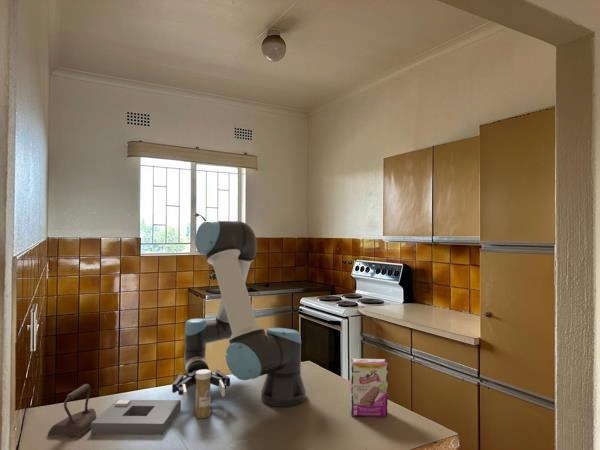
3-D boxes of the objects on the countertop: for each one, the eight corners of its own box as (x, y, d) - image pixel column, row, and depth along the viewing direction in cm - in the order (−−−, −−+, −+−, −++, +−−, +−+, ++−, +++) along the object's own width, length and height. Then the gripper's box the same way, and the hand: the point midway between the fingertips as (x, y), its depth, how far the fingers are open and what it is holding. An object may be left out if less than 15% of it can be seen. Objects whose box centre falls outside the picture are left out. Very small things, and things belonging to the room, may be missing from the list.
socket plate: (180, 409, 127) (180, 397, 127) (163, 434, 111) (163, 420, 111) (117, 409, 127) (117, 397, 127) (90, 434, 111) (91, 420, 111)
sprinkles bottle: (205, 419, 120) (206, 374, 120) (192, 417, 121) (192, 372, 122) (213, 413, 124) (213, 369, 125) (200, 411, 126) (200, 368, 126)
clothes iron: (80, 438, 109) (81, 397, 109) (46, 437, 110) (47, 396, 110) (109, 416, 122) (109, 379, 123) (79, 414, 123) (80, 378, 124)
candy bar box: (351, 417, 122) (351, 362, 123) (349, 410, 127) (349, 357, 127) (388, 417, 122) (388, 363, 122) (385, 410, 127) (385, 358, 127)
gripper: (230, 377, 144) (242, 401, 123) (162, 385, 136) (163, 412, 115) (230, 356, 144) (243, 376, 123) (162, 363, 136) (164, 385, 115)
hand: (204, 394), depth 119 cm, fingers open, 10 cm apart
